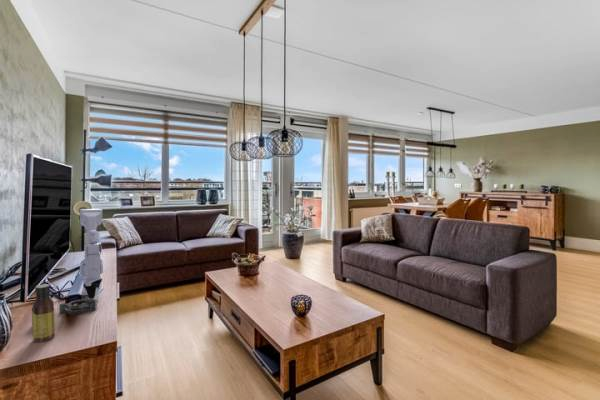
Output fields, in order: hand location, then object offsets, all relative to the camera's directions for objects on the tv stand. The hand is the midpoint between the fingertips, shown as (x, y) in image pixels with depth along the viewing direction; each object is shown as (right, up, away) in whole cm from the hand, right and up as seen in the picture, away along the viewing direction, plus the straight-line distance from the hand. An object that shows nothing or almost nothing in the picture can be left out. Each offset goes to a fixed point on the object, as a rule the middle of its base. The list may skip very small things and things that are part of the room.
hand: (93, 296), depth 145 cm
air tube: (0, -3, 0) cm, 3 cm away
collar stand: (0, -4, -10) cm, 10 cm away
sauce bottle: (+5, -5, -34) cm, 35 cm away
